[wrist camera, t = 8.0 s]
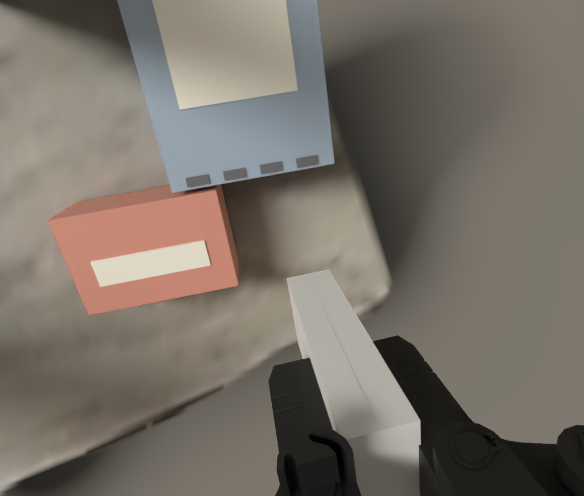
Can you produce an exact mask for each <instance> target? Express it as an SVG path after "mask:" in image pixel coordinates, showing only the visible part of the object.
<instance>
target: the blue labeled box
mask: <svg viewBox="0 0 584 496" xmlns="http://www.w3.org/2000/svg"><path fill="white" fill-rule="evenodd" d="M117 2H118V5H119V9H120V12H121V16H122V19H123V23H124V26H125V30H126V33H127V37H128V40H129V44H130V47H131V51H132V54H133V58H134V61H135V65H136V68H137V72H138V75H139V79H140V82H141V86H142V89H143V93H144V96H145V100H146V103H147V107H148V110H149V114H150V117H151V121H152V124H153V128H154V131H155V135H156V138H157V142H158V145H159V149H160V152H161V156H162V160H163V163H164V167H165V170H166V174H167V177H168V181H169V184H170V188H171V191H172V193H174V192H180V191H185V190H191V189H197V188H202V187H208V186H213V185H219V184H224V183H230V182H236V181H241V180H247V179H252V178H258V177H263V176H269V175H275V174H280V173H286V172H291V171H297V170H302V169H308V168H314V167H319V166H325V165H330V164H334V154H333V145H332V135H331V126H330V116H329V107H328V97H327V88H326V79H325V69H324V59H323V50H322V41H321V31H320V22H319V13H318V2H317V0H117Z"/></svg>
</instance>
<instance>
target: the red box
mask: <svg viewBox="0 0 584 496" xmlns="http://www.w3.org/2000/svg"><path fill="white" fill-rule="evenodd" d="M48 223H49V225H50V227H51V230H52V232H53V234H54V237H55V239H56V241H57V243H58V246H59V248H60V250H61V253H62V255H63V257H64V260H65V262H66V264H67V267H68V269H69V271H70V273H71V276H72V278H73V280H74V283H75V285H76V287H77V290H78V292H79V294H80V296H81V299H82V301H83V303H84V306H85V308H86V310H87V313H88V315H93V314H98V313H103V312H108V311H113V310H119V309H124V308H129V307H134V306H139V305H144V304H149V303H154V302H159V301H164V300H169V299H174V298H179V297H184V296H189V295H194V294H199V293H204V292H209V291H214V290H219V289H224V288H229V287H234V286H238V256H237V251H236V247H235V242H234V238H233V234H232V229H231V225H230V221H229V216H228V212H227V208H226V203H225V199H224V195H223V190H222V186H221V184H219V185H213V186H208V187H202V188H197V189H191V190H185V191H180V192H174V193H172V191H171V188H170V186H164V187H158V188H153V189H147V190H141V191H136V192H130V193H125V194H119V195H113V196H108V197H102V198H97V199H91V200H85V201H80V202H77V203H75V204H74V205H72V206H70V207H69V208H67V209H66V210H64V211H62V212H61V213H59V214H57V215H56V216H54V217H53V218H51V219H49V220H48Z"/></svg>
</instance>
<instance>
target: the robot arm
mask: <svg viewBox="0 0 584 496" xmlns="http://www.w3.org/2000/svg"><path fill="white" fill-rule="evenodd" d="M287 283H288V289H289V294H290V300H291V306H292V311H293V317H294V323H295V328H296V334H297V339H298V344H299V347H300V350H301V354H302V358H303V359H301V360H297V361H293V362H288V363H284V364H280V365H276V366H274V367H273V370H272V373H271V376H270V379H269V388H270V394H271V401H272V408H273V414H274V421H275V428H276V435H277V442H278V448H279V454H278V458H277V474H278V478H279V482H280V486H279V489H278V491H277V493H276V495H275V496H584V426H582V425H576V426H573V427H570V428H566V429H564V430H563V432H562V433H561V434H560V435H559V436H558V440H557V444H541V443H520V442H514V441H507V440H504V439H501V438H500V437H499V436H498V435H497V434H495V433H494V432H493V431H492V430H490V429H488V428H486V427H484V426H482V425H480V424H476V423H474V422H473V421H472V420H471V419H470V418H469V417H468V416H467V414H466V413H465V412H464V411H463V409H462V408H461V407H460V405H459V404H458V403H457V401H456V400H455V399H454V398H453V396H452V395H451V394H450V392H449V391H448V390H447V388H446V387H445V386H444V384H443V383H442V382H441V380H440V379H439V378H438V377H437V375H436V374H435V373H433V371H432V369H431V367H430V366H429V365H428V364H427V362H425V361H424V358H423V357H422V356H421V354H420V353H419V352H418V351H417V349H416V348H415V347H414V345H412V344H411V343H409V342H407V341H406V340H404V339H403V338H401V337H399V336H394V337H390V338H385V339H381V340H377V341H372V340H371V338H370V336H369V335H368V333H367V332H366V330H365V328H364V327H363V325H362V323H361V322H360V320H359V318H358V317H357V315H356V313H355V312H354V310H353V308H352V307H351V305H350V304H349V302H348V300H347V299H346V297H345V295H344V294H343V292H342V290H341V289H340V287H339V285H338V284H337V282H336V280H335V279H334V277H333V275H332V274H331V272H330V271H329V269H327V270H323V271H318V272H313V273H309V274H304V275H299V276H295V277H290V278H287Z"/></svg>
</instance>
